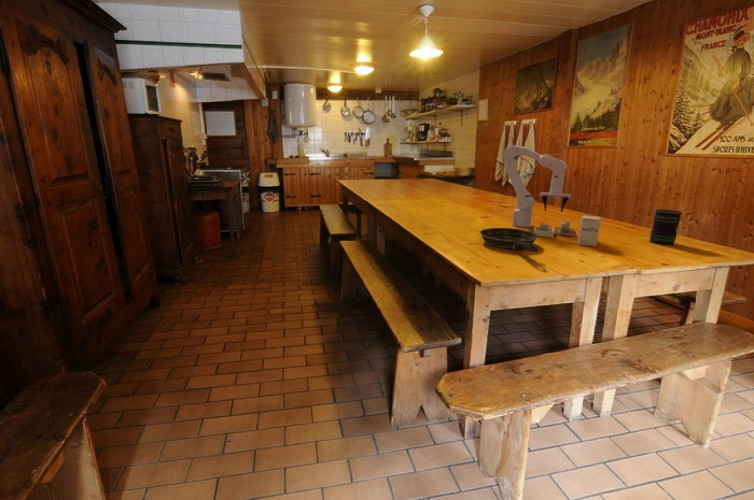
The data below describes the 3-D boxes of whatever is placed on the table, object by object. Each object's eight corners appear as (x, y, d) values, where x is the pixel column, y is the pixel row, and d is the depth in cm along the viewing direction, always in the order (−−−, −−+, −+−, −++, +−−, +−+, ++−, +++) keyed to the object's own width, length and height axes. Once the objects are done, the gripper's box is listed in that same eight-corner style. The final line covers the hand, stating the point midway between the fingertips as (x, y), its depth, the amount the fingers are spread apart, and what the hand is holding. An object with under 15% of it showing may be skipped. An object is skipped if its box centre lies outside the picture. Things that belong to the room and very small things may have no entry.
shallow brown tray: (554, 235, 198) (554, 233, 198) (555, 228, 212) (555, 227, 212) (574, 237, 195) (574, 235, 195) (573, 230, 209) (574, 228, 209)
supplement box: (578, 245, 181) (582, 217, 178) (577, 241, 188) (581, 214, 184) (596, 246, 179) (601, 219, 175) (594, 242, 185) (599, 216, 182)
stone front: (538, 234, 198) (539, 225, 197) (539, 232, 202) (540, 223, 200) (547, 235, 196) (548, 226, 195) (548, 233, 200) (549, 224, 199)
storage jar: (676, 242, 186) (683, 211, 182) (672, 246, 180) (680, 214, 175) (651, 239, 193) (657, 208, 189) (646, 242, 186) (653, 211, 182)
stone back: (560, 230, 206) (561, 221, 205) (560, 228, 210) (561, 220, 209) (568, 231, 205) (569, 222, 204) (568, 229, 208) (569, 221, 207)
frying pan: (473, 237, 194) (474, 223, 192) (525, 237, 194) (527, 224, 192) (498, 265, 152) (500, 248, 150) (564, 266, 152) (567, 249, 150)
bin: (533, 235, 197) (533, 230, 196) (534, 231, 205) (535, 226, 204) (552, 237, 193) (553, 232, 193) (553, 233, 201) (554, 228, 200)
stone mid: (560, 232, 203) (561, 223, 201) (560, 230, 206) (561, 222, 205) (568, 233, 201) (570, 224, 200) (568, 231, 204) (569, 222, 203)
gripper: (541, 184, 202) (537, 211, 206) (572, 186, 197) (568, 213, 201) (541, 183, 209) (538, 208, 212) (572, 185, 203) (568, 211, 207)
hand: (553, 211), depth 207 cm, fingers open, 7 cm apart
